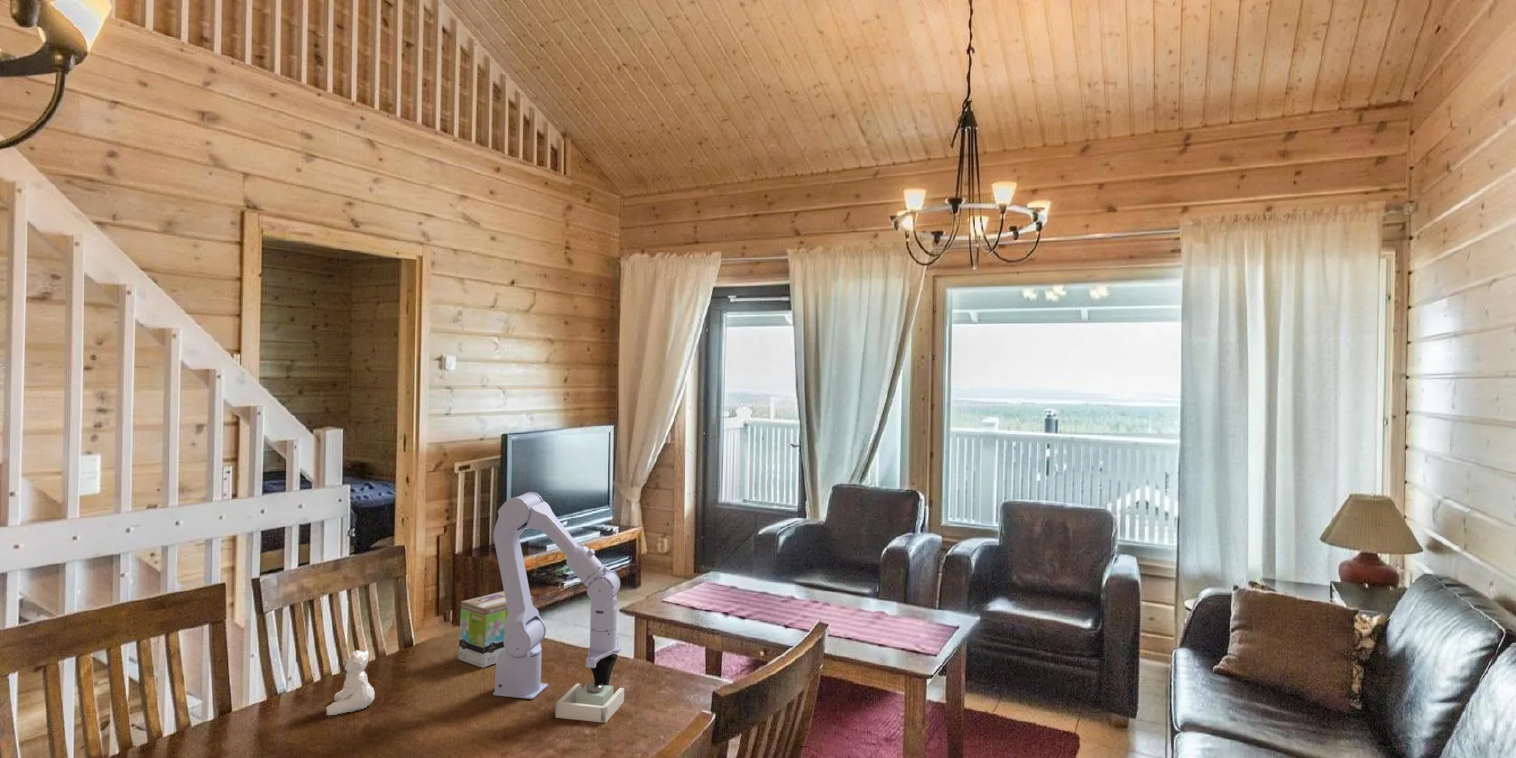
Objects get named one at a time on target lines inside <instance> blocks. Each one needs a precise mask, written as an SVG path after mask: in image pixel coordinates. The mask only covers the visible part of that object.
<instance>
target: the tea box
mask: <svg viewBox="0 0 1516 758" xmlns="http://www.w3.org/2000/svg"><path fill="white" fill-rule="evenodd" d="M531 600H532V605H533V606H534V596H533V595H531ZM507 615H508V609H507V604H506V598H505V593H504V590H502V591H498V592H494V593H490V594H486V595H482V596H478V597H474V598H469V599H466V600H462V601H461V602H460V616H459V617H460V619H459V640H458V641H459V644H458V660H459V661H462V662H464V663H468V664H471V665H473V666H475V667H479V668H481V669H484V668H486V667H490V666H491V665H492V666H493V665H494V664H495V665H496V661H497V658H498V655H499V654H500V652H501V651H503V650H506V649H505V647H504V636H505V626H504V625H505V621H506V618H507Z"/></svg>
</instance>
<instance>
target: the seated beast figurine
mask: <svg viewBox="0 0 1516 758" xmlns="http://www.w3.org/2000/svg"><path fill="white" fill-rule="evenodd" d="M369 656H370V653H369V651H368V650H365V651H362V650H360V649H358V650H357V649H356V650H355V651H352V653H351V656H350V657H349V658H348V659H346V665H345V667H344V670H345V671H346V673H345V679H344V682H343V687H342V689H341V690H340V691H337V692H336V693H335V694H334V698H333V699H334V700H333V701H334V702H333V701H332V703H331V704H329V705H327V706H326V707H325V708H326V709H325V710H326V716H327V715H337V714H341V713H346V712H350V713H353V712H357V711H360V710H361V709H362V710H365V709H366V708H368V707H369V705H371V704H372V703H373V701H374V700H375V694H376V693H375V690H374V689H375V687H373V686H372V685H371V684H370V682H369V679H368V678H369V677H368V674H367V673H366V671H365V669H366V667H367V666H368V664H369V663H368V662H369ZM367 706H368V707H367ZM364 708H365V709H364ZM356 710H357V711H356ZM346 714H347V713H346ZM341 715H342V714H341ZM337 716H338V715H337Z"/></svg>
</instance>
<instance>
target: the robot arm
mask: <svg viewBox="0 0 1516 758" xmlns="http://www.w3.org/2000/svg"><path fill="white" fill-rule="evenodd" d="M497 513H498V517H497V519H496V523H495V527H494V529H493V535H492V536H493V542H494V547H495V551H496V556H497V557H496V558H497V561H498V562H497V563H498V567H499V572H500V577H501V582H502V587H503V591H504V593H505V598H506V604H507V609H508V615H507V618H506V621H505V625H504V626H505V636H504V647H505V649H506V650H503V651H501V652H500V654H499V655H498V658H497V661H496V663H495V672H494V673H495V675H494V676H495V677H494V678H495V679H494V691H493V693H492V694H493V696H497V697H505V698H506V697H507V698H508V697H509V698H518V699H526V700H527V699H528V700H533V699H535V698H536V697H537V696H538V695H540V694H541V693H542V692H543V691H544V690H545V689H546V688H547V687H548V686H549V684H548V683H543V682H542V649H543V648H542V645H541V644H542V643H541V642H542V641H543V640H544V638H545V637H546V633H547V628H546V627H547V626H546V624H545V622H544V621H543V619H542V617H541V616H540V612H539V610H538V608H536V607H535V606H534V604H533V605H532V600H531V596H532V595H531V591H530V586H529V585H530V584H529V581H528V580H529V579H528V575H527V571H526V565H525V560H524V556H523V551H522V545H521V539H520V537H521V535H522V534H523V532H524V531H525V530H526V529H529V530H535V531H541V532H542V533H543V534H545V536H546V537H547V538H549V540H551V542H553V543H554V545H555V546H556V547H557V548H558V549H559V550H560V551H561V552H563V554H564V555H565V557H566V565H567V567H568V568H569V569H570V570H571V571H572V572H573V574H575V576H576V577H577V578H578V579H579V580H580V581H581V582H582V584H583V585H584V586H585V587H587V588H586V593H587V596H588V598H589V599H590V620H589V621H590V624H589V625H590V627H589V629H590V631H589V646H588V653H587V657H586V659H585V668H588V669H591V672H592V675H593V680H594V682H600V683H603V684H604V685H608V686H609V684H610V680H611V676H612V672H613V669H614V666H615V664H616V661H617V660H618V654H619V653H620V652H622V647H619V639H620V638H619V637H617V623H618V621H617V619H618V606H617V605H618V604H617V603H618V597H617V596H618V595H617V593H618V592H619V591H620V588H621V579H620V577H619V575H618V574H617V572H616V571H614V570H612V569H610V568H609V567H608V566H607V565H604V564H603V563H602V562H601V561H600V559H599V558H598V557H596V555H595V553H596V552H595V550H594V549H593V548H590V549H589V547H588V546H586V545H579V544H578V543H577V542H576V540H575V539H574V538H573V536H572V534H570V532H569V531H568V530H567V529H566V527H565V526H564V525H563V524H562V523H561V521H560V520H559V519H558V517H557V516H556V515H555V513H554V512H553V509H552V508H551V506H550V505H549V504H548V502H546V501H544V499H543V497H542V496H541V495H540V494H539V493H537V492H535V491H533V492H532V491H528V492H525V493H523V494H521V495H518V496H515V497H511V498H509V499H506V500H505V502H504V503H502V505H501V506H500V507H499V509H498V510H497Z"/></svg>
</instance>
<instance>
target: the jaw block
mask: <svg viewBox="0 0 1516 758" xmlns="http://www.w3.org/2000/svg"><path fill="white" fill-rule="evenodd" d="M613 695H614V685H609V684H608V685H604V684H603V683H600V682H595V681H594V682H590V683H586V684H585V685H584V686H583V687H581V690H580V691H579V692H578V693H577V694H576V703H580V704H589V705H599V706H603V705H604V704H605V703H606V702H607V701H608V700H609V699H610V698H611V697H612V696H613Z"/></svg>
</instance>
